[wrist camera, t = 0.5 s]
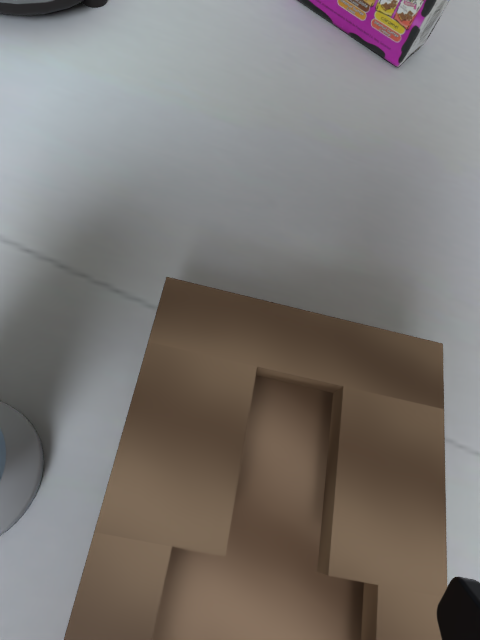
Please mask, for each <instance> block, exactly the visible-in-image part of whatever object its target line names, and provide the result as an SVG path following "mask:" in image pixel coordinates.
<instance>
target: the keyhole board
mask: <svg viewBox="0 0 480 640" xmlns="http://www.w3.org/2000/svg"><path fill="white" fill-rule="evenodd" d="M446 589H447V551H446V494H445V438H444V382H443V344H442V343H438V342H433V341H429V340H425V339H421V338H417V337H413V336H409V335H405V334H400V333H396V332H392V331H388V330H384V329H380V328H376V327H372V326H367V325H363V324H359V323H355V322H351V321H347V320H343V319H339V318H334V317H330V316H326V315H322V314H318V313H314V312H310V311H306V310H301V309H297V308H293V307H289V306H285V305H281V304H277V303H273V302H268V301H264V300H260V299H256V298H252V297H248V296H244V295H240V294H235V293H231V292H227V291H223V290H219V289H215V288H211V287H207V286H202V285H198V284H194V283H190V282H186V281H182V280H178V279H174V278H169V277H166V281H165V284H164V288H163V291H162V295H161V298H160V302H159V305H158V309H157V312H156V316H155V320H154V323H153V327H152V330H151V334H150V337H149V341H148V344H147V348H146V351H145V355H144V358H143V362H142V365H141V369H140V372H139V376H138V380H137V383H136V387H135V390H134V394H133V397H132V401H131V404H130V408H129V411H128V415H127V418H126V422H125V425H124V429H123V432H122V436H121V440H120V443H119V447H118V450H117V454H116V457H115V461H114V464H113V468H112V471H111V475H110V478H109V482H108V485H107V489H106V492H105V496H104V500H103V503H102V507H101V510H100V514H99V517H98V521H97V524H96V528H95V531H94V535H93V538H92V542H91V545H90V549H89V552H88V556H87V560H86V563H85V567H84V570H83V574H82V577H81V581H80V584H79V588H78V591H77V595H76V598H75V602H74V605H73V609H72V612H71V616H70V620H69V623H68V627H67V630H66V634H65V637H64V640H442V638H441V634H440V630H439V626H438V621H437V606H438V604H439V602H440V600H441V598H442V596H443V594H444V593H445V591H446Z"/></svg>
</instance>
